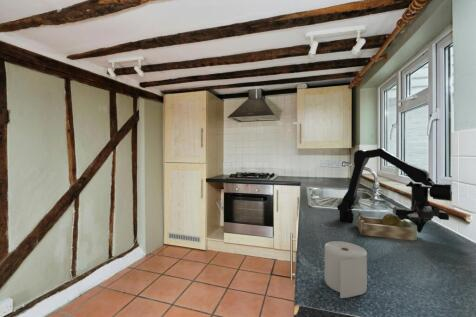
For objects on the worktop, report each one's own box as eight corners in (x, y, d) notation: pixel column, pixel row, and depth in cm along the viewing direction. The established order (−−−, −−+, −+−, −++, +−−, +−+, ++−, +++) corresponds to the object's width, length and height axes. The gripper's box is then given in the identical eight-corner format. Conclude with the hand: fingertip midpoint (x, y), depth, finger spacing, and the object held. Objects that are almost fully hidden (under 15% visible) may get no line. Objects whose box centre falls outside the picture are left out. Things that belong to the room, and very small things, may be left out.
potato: (379, 234, 99) (379, 217, 99) (383, 227, 109) (383, 211, 109) (402, 239, 94) (402, 220, 94) (404, 231, 104) (404, 214, 104)
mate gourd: (418, 229, 107) (417, 208, 107) (402, 229, 108) (402, 209, 107) (407, 224, 115) (406, 205, 114) (392, 224, 115) (392, 205, 115)
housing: (361, 234, 100) (361, 217, 100) (357, 225, 112) (357, 210, 112) (413, 240, 93) (413, 221, 93) (403, 230, 105) (403, 214, 105)
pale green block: (411, 239, 94) (411, 225, 94) (403, 231, 104) (403, 219, 104) (418, 239, 94) (418, 225, 94) (409, 232, 103) (409, 219, 103)
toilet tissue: (352, 273, 67) (353, 240, 67) (379, 299, 55) (379, 259, 55) (318, 274, 67) (318, 241, 66) (337, 300, 55) (337, 260, 54)
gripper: (400, 199, 93) (399, 235, 94) (456, 202, 86) (456, 242, 87) (392, 194, 104) (392, 227, 104) (442, 197, 97) (442, 232, 97)
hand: (418, 232), depth 98 cm, fingers closed
